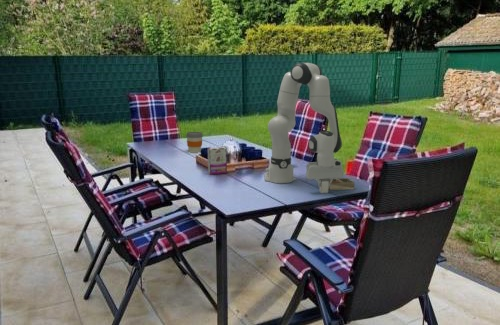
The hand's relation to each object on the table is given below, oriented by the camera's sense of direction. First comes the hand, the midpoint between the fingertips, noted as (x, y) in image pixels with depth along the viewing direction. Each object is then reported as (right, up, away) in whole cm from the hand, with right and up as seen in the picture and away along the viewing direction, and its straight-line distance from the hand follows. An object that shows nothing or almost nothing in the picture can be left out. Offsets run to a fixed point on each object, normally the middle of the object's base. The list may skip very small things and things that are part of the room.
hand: (323, 186), depth 237 cm
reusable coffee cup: (-83, +21, +104) cm, 135 cm away
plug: (0, -3, +1) cm, 3 cm away
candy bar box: (-61, +6, +39) cm, 72 cm away
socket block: (+10, -1, +10) cm, 14 cm away
